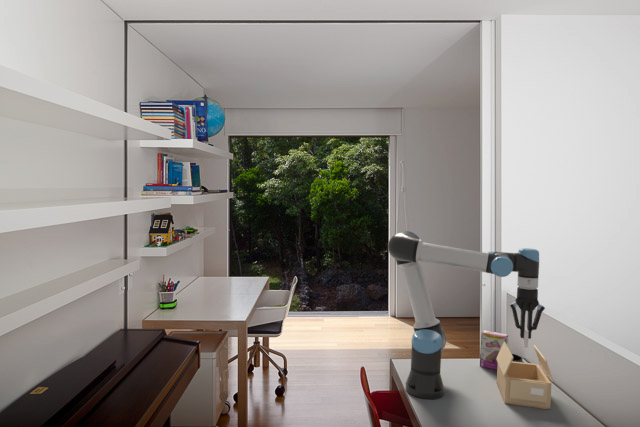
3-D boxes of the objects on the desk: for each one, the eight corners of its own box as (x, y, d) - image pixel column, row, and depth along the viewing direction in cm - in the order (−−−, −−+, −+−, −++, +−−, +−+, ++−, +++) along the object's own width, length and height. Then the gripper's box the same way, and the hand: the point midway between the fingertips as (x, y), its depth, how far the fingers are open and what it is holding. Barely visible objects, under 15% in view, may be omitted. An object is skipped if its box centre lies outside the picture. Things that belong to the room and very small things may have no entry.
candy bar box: (479, 366, 210) (481, 332, 209) (481, 363, 214) (483, 329, 213) (504, 372, 204) (506, 336, 203) (506, 369, 208) (508, 334, 207)
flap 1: (504, 376, 172) (503, 375, 172) (497, 359, 191) (496, 358, 191) (513, 357, 171) (512, 357, 172) (505, 342, 190) (503, 341, 190)
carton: (505, 404, 171) (506, 378, 171) (496, 382, 192) (497, 359, 192) (550, 410, 168) (552, 384, 167) (536, 387, 189) (538, 363, 188)
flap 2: (539, 363, 187) (540, 363, 187) (552, 381, 169) (553, 381, 168) (533, 345, 187) (534, 344, 187) (545, 361, 169) (546, 360, 169)
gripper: (511, 288, 176) (509, 347, 177) (547, 290, 173) (545, 350, 174) (508, 284, 184) (506, 341, 184) (543, 286, 181) (540, 344, 181)
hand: (525, 346), depth 179 cm, fingers closed
